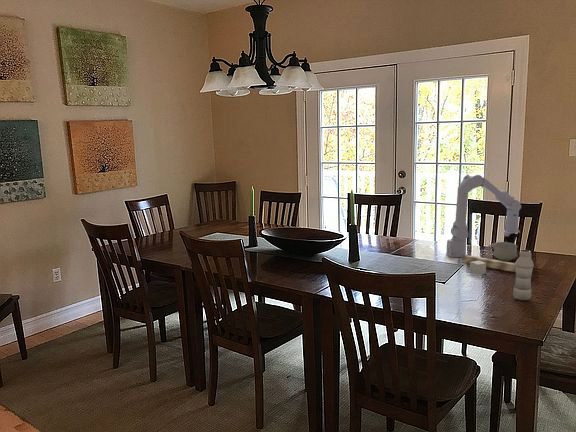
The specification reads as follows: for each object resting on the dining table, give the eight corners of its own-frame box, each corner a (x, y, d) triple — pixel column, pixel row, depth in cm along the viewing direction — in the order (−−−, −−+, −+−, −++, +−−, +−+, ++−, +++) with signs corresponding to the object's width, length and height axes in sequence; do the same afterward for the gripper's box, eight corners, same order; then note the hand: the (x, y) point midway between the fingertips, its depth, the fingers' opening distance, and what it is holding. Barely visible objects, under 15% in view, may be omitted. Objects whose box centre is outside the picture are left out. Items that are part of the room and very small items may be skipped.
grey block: (477, 274, 222) (477, 264, 221) (469, 272, 227) (470, 261, 226) (485, 273, 224) (486, 263, 223) (477, 270, 229) (478, 260, 228)
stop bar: (461, 262, 242) (461, 255, 242) (463, 261, 244) (464, 254, 244) (515, 272, 225) (515, 264, 224) (517, 270, 226) (517, 263, 226)
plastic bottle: (509, 297, 193) (512, 249, 189) (525, 296, 194) (528, 248, 190) (518, 302, 187) (521, 253, 183) (534, 301, 187) (538, 252, 184)
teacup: (516, 257, 248) (517, 242, 247) (516, 263, 239) (517, 247, 237) (487, 255, 254) (488, 240, 253) (486, 260, 244) (487, 245, 243)
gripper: (515, 225, 244) (513, 251, 246) (524, 220, 254) (523, 245, 256) (500, 223, 249) (499, 248, 251) (511, 219, 259) (509, 243, 261)
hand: (510, 247), depth 254 cm, fingers closed
